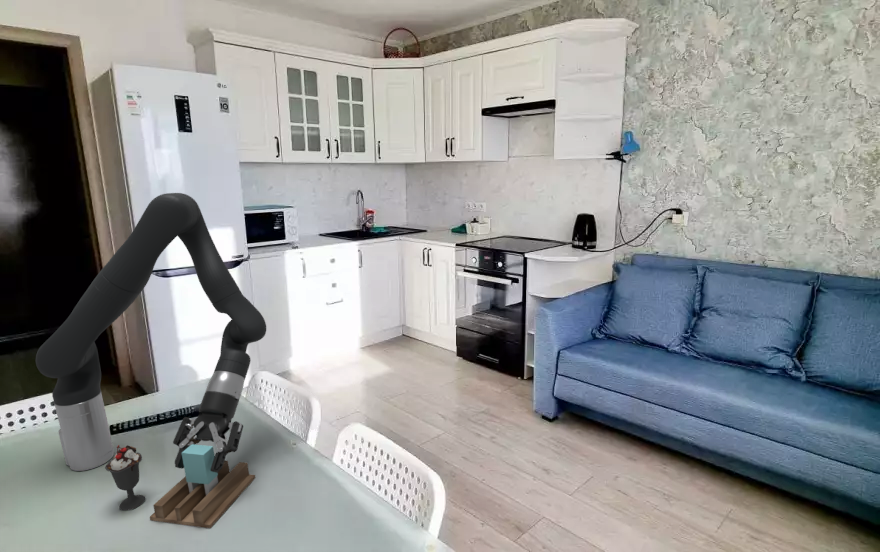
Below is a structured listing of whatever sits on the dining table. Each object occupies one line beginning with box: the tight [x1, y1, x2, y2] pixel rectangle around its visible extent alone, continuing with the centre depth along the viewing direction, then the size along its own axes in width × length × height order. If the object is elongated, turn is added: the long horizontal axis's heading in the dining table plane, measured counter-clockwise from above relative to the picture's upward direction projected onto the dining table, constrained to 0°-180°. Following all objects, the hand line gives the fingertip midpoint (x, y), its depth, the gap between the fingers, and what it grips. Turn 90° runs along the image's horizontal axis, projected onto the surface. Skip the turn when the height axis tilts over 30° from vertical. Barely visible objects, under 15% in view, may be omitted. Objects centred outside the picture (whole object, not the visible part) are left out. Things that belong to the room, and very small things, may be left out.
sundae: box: [104, 444, 147, 512], centre depth 104 cm, size 7×7×15 cm
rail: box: [149, 460, 256, 529], centre depth 106 cm, size 14×16×4 cm
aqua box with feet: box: [182, 444, 218, 495], centre depth 105 cm, size 5×3×11 cm, turn 78°
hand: (196, 469), depth 104 cm, fingers open, 8 cm apart
